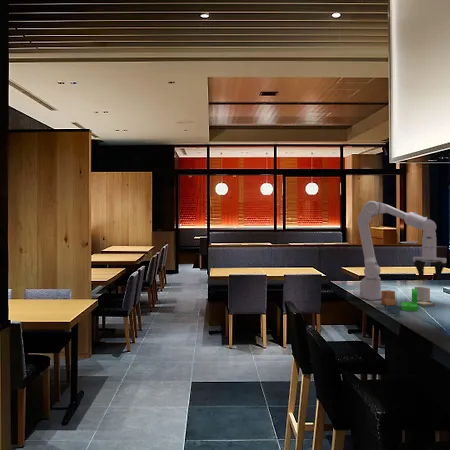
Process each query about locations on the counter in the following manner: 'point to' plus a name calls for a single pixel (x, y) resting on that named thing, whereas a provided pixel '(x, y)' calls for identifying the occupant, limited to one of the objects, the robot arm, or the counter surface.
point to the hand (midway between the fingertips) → (429, 278)
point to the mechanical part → (410, 305)
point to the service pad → (425, 304)
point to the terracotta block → (388, 297)
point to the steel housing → (423, 294)
